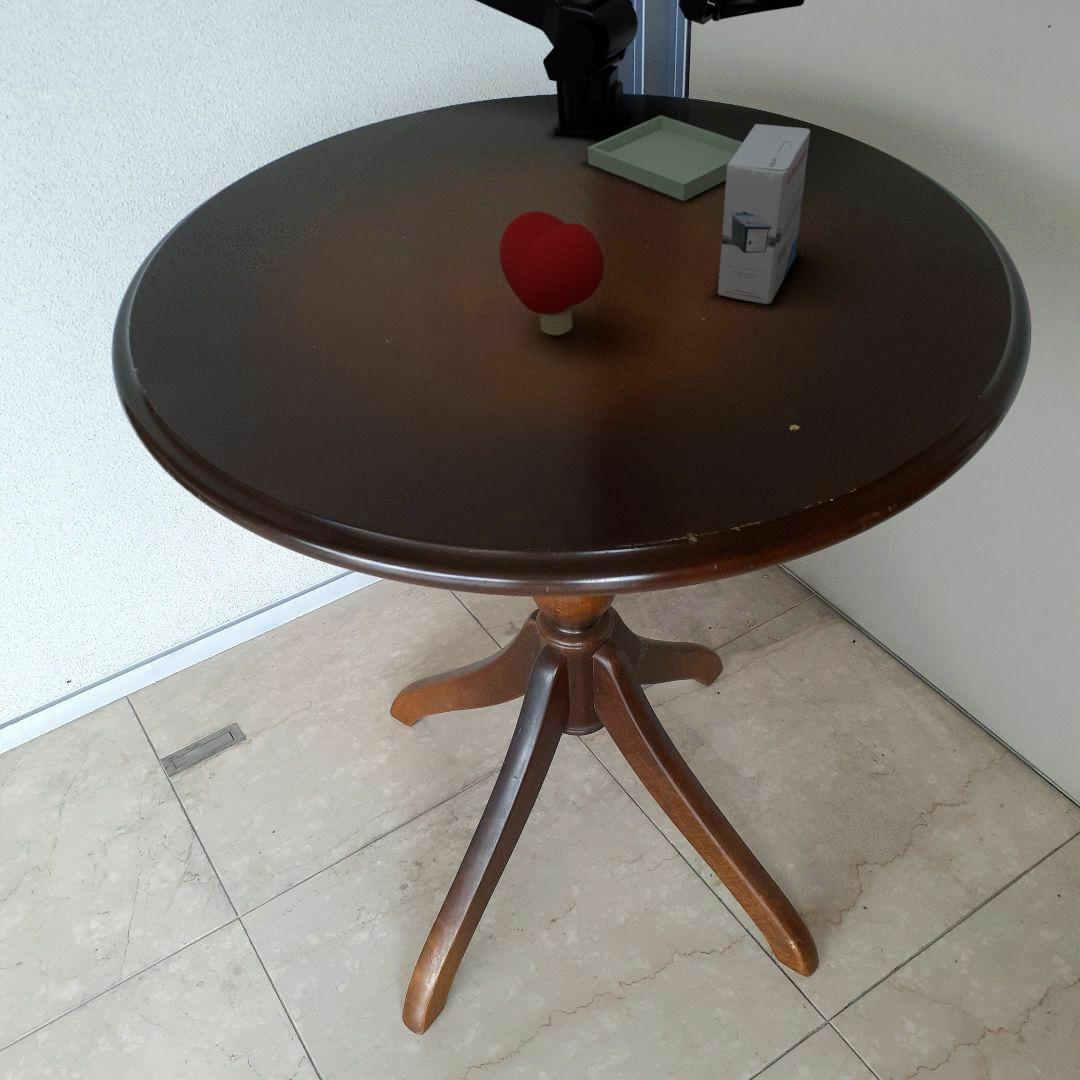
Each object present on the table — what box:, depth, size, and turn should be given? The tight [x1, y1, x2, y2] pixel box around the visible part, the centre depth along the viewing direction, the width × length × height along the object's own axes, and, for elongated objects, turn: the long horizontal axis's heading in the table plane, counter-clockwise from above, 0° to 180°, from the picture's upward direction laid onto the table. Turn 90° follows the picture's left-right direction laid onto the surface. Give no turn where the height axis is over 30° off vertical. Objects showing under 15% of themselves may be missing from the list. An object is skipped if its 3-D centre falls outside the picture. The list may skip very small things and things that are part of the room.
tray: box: [587, 114, 744, 202], centre depth 107 cm, size 14×11×2 cm
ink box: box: [717, 123, 811, 305], centre depth 86 cm, size 9×5×12 cm, turn 156°
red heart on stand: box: [499, 210, 605, 338], centre depth 82 cm, size 9×7×10 cm
